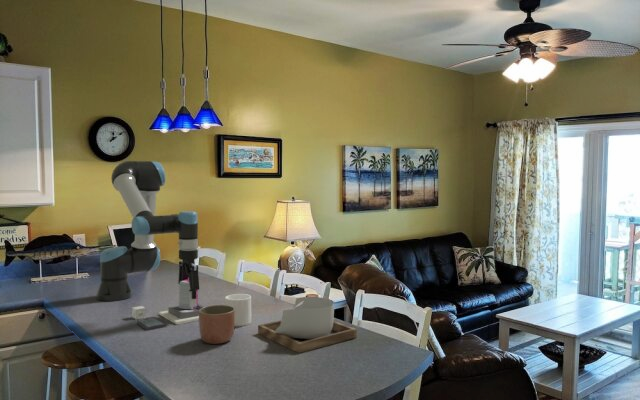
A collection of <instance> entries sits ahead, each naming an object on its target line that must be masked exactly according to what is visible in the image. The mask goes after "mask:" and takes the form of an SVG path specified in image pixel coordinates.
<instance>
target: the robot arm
mask: <svg viewBox="0 0 640 400" xmlns="http://www.w3.org/2000/svg"><path fill="white" fill-rule="evenodd" d="M111 183H112V186H113V188H114V189H115V190H116V191H117V192H119V194H120V196H121V197H122V199H123V201H124V203H125V206H126V207H127V209H128V211H129V213H130V214H131V217H132V221H131V229H132V233H133V234H134V241H133V242H132V243H131V244H130V248H128V247H127V246H125V245H123V246H122V245H121V246H113V247H108V248H106V249H103V250H102V251H101V252H100V255H99V256H100V257H99V258H100V259H99V262H100V263H99V264H100V283H99V286H98V289H97V293H96V300H98V301H102V302H114V301H115V302H116V301H122V300H127V299H129V298H132V293H133V292H132V289H131V286H130V283H129V281H128V274H136V273H145V272H146V273H147V272H151V271H155V270H156V269H157V268H159V265H160V263H161V256H162V255H161V250H160V248H159V247H158V246H157V243H156V242H155V241H154V238H155V237H154V236H155V235H162V234H163V235H164V234H176V233H177V234H178V242H177V244H178V258H179V260H180V261H179V262H178V266H179V268H178V280H177V281H178V285H179V282H181V281H183V280H186V279H187V280H189V284H190V290H189V299H190V307H195V306H197V290H198V291H200V282H199V281H200V277H199V265H198V264H196V263H195V260H196V259H198V258H199V250H198V248H199V244H198V243H199V238H198V236H199V234H198V233H199V232H198V231H199V230H198V229H199V228H198V226H199V220H198V212H196V211H194V210H193V211H192V210H191V211H190V210H188V211H186V210H185V211H180V212H179V213H175V214H174V213H173V214H172V213H171V214H168V215H156V204H157V194H158V193H159V192H160V191H161V187H162V186H165V184H166V171H165V168H164V167H163V165H162V163H160V162H159V161H153V160H152V161H151V160H126V161H122V162H121V163H119V164H117V166H115V167H114V169H113V170H112V173H111Z"/></svg>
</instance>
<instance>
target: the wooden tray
mask: <svg viewBox="0 0 640 400" xmlns="http://www.w3.org/2000/svg"><path fill="white" fill-rule="evenodd" d="M280 324H281V320H277V321H272V322H271V321H270V322H267V323H262V324H258V325H257V331H258V332H257V334H259V335H260V336H263V337H265V338H267V339H269V340H271V341H273V342H275V343H278V344H280V345H281V346H283V347H286V348H288V349H289V350H292V351H295V352H297V353H299V354H300V353H305V352H308V351H312V350H315V349H318V348H322V347H327V346H331V345H334V344H337V343H341V342H344V341H345V342H346V341H350V340H351V339H355V338H357V334H358V332H357V331H358V330H357V328H355V327H352V326H350V325H349V326H348V324H347V325H346V324H343V323H341V322H338V321H335V320H334V322H333V328H332V330H331V331H335V332H334V333H329V334H328V335H326V336H322V337H318V338H314V339H305V340H304V341H299V340H296V339H295V338H292V337H287V336H285V335H283V334H279V333H275V330H276V329H277V328H278V327H279V326H280Z"/></svg>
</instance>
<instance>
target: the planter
mask: <svg viewBox="0 0 640 400" xmlns="http://www.w3.org/2000/svg"><path fill="white" fill-rule="evenodd" d="M234 323H235V308H234V307H232V306H227V305H225V304H214V305H208V306H207V305H206V306H204V307H203V308H201V309H199V321H198V324H199V325H198V328H199V335H200V339H201V341H203V342H204V343H206V344H209V345H210V344H211V345H217V344H219V345H220V344H224V343H227V342H230V340H232V338H233V337H234V332H235V327H234Z"/></svg>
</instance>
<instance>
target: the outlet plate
mask: <svg viewBox="0 0 640 400" xmlns="http://www.w3.org/2000/svg"><path fill="white" fill-rule="evenodd" d="M203 307H205V306H204V305H202V304H200V303H198V307H197V308H195V309H193V310H179V305H175V306H171V307H170V306H169V307H168V308H167V309H168V310H162V311H159V312H158V314H159V316H161V317H163V318H165V319H166V320H168V321H170V322H171V323H173V324H175V325H182V324H187V323H193V322H199V309H201V308H203Z"/></svg>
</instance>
